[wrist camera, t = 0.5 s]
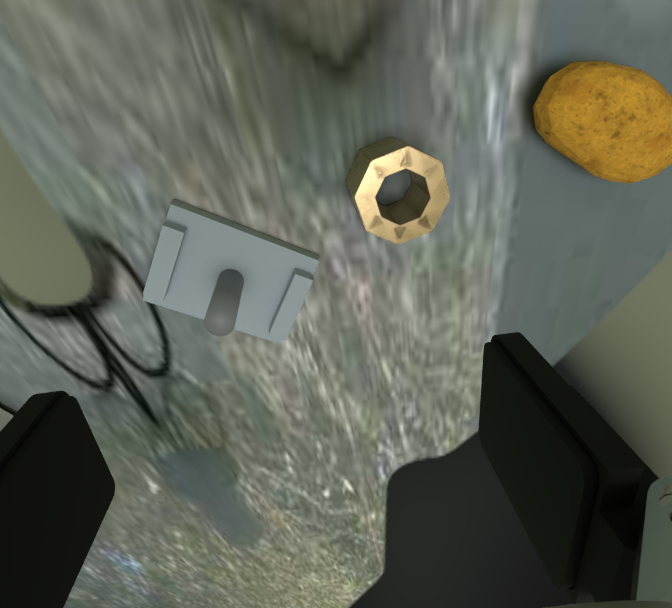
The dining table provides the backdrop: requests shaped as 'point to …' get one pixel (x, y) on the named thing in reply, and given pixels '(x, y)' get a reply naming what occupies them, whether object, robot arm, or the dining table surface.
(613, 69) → the potato
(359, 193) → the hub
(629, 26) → the dining table surface
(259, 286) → the shaft stand
